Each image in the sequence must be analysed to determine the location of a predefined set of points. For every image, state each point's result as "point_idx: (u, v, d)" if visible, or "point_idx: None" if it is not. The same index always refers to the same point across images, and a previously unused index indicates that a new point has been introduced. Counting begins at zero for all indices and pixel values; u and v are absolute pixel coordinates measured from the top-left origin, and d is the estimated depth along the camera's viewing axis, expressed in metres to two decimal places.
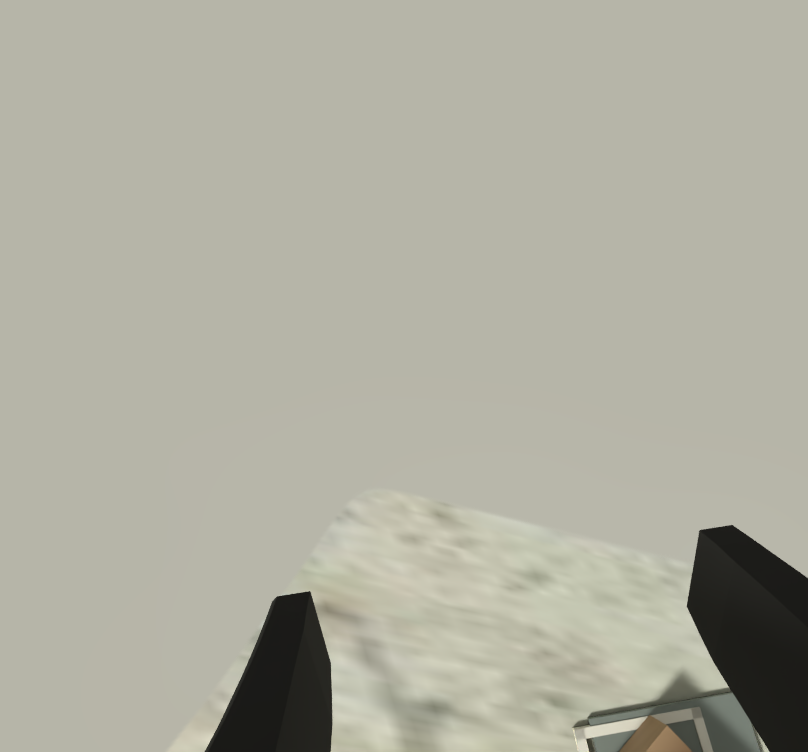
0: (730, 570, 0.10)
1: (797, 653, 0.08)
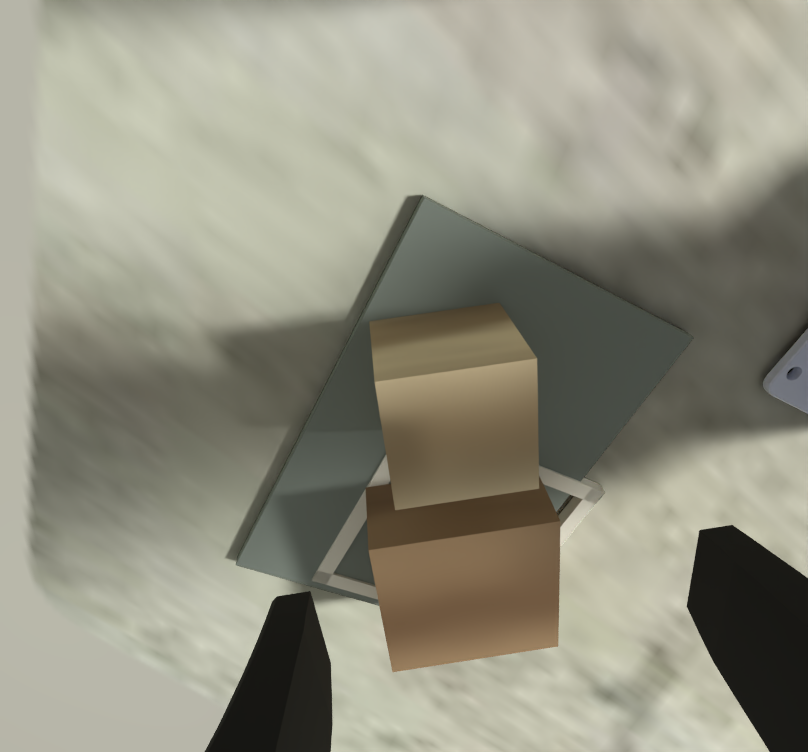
0: (730, 570, 0.10)
1: (797, 653, 0.08)
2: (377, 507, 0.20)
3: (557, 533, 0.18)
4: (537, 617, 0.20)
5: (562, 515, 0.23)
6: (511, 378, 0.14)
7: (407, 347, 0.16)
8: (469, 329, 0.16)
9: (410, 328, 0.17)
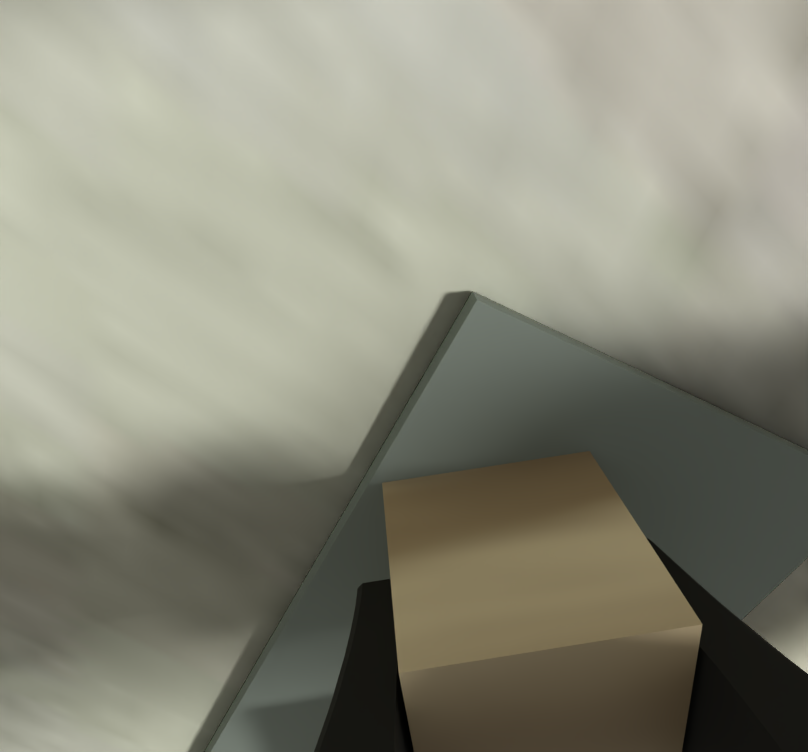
0: None
1: None
2: None
3: None
4: None
5: None
6: (651, 654, 0.08)
7: (451, 563, 0.09)
8: (553, 521, 0.10)
9: (450, 508, 0.10)
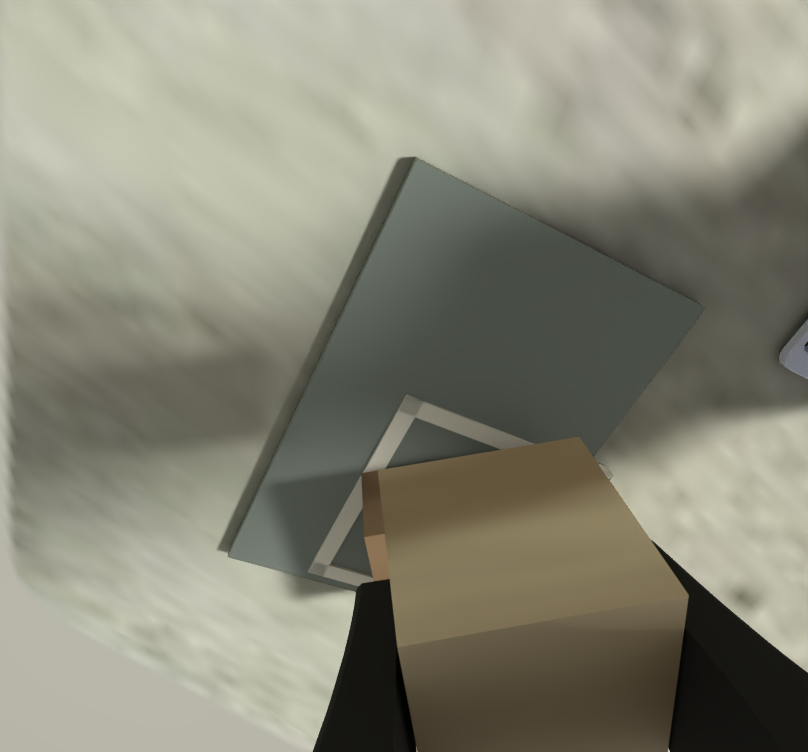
0: None
1: (693, 670, 0.08)
2: (373, 493, 0.19)
3: None
4: None
5: None
6: (639, 625, 0.08)
7: (447, 543, 0.09)
8: (545, 502, 0.10)
9: (445, 493, 0.10)
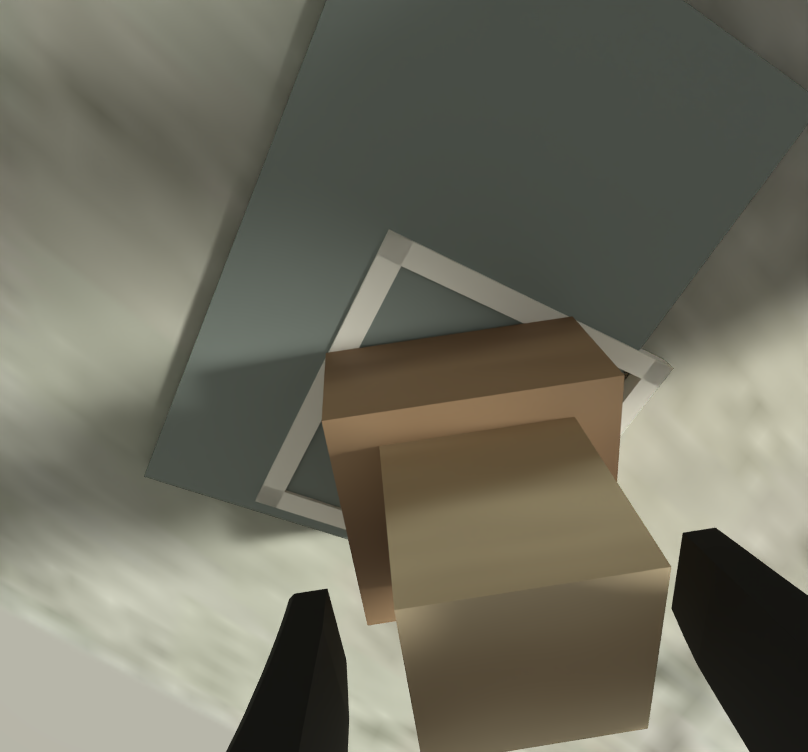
0: (712, 573, 0.10)
1: (776, 656, 0.08)
2: (340, 372, 0.13)
3: (619, 396, 0.12)
4: None
5: None
6: (624, 594, 0.09)
7: (443, 516, 0.10)
8: (538, 479, 0.10)
9: (443, 468, 0.11)
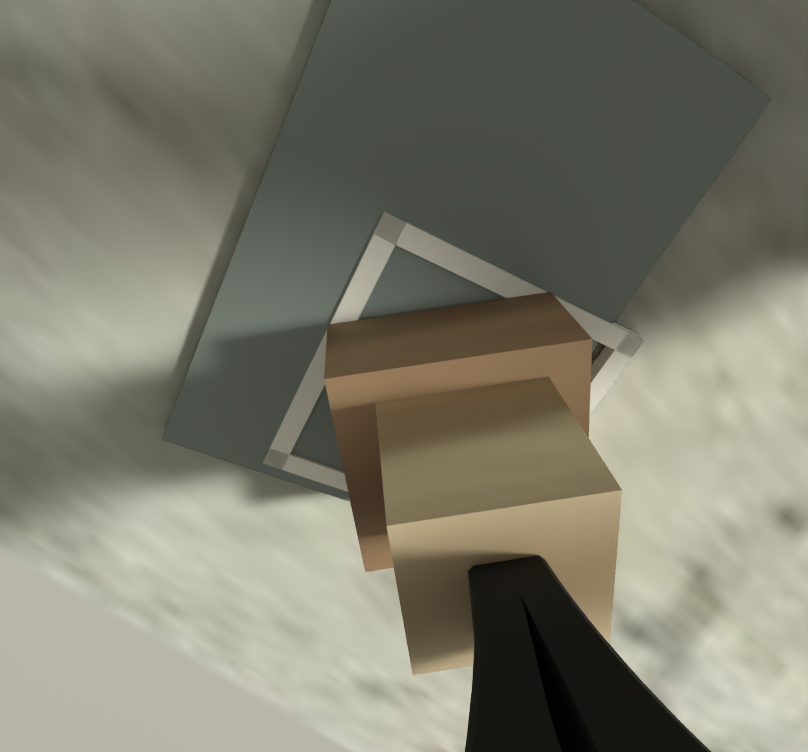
0: None
1: (557, 692, 0.08)
2: (341, 340, 0.15)
3: (588, 358, 0.13)
4: None
5: None
6: (583, 514, 0.10)
7: (430, 455, 0.11)
8: (513, 426, 0.12)
9: (431, 419, 0.12)
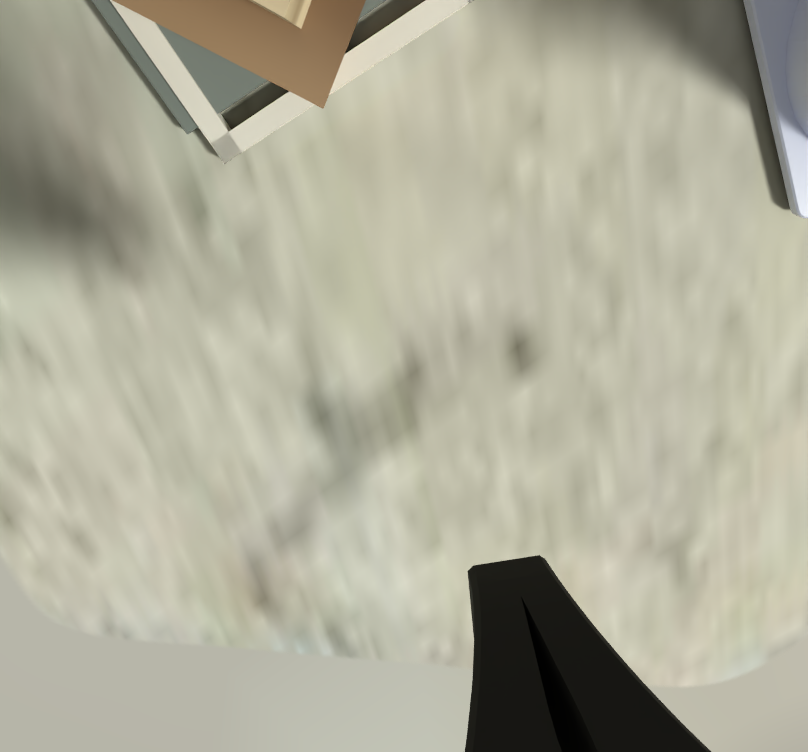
0: None
1: (557, 692, 0.08)
2: None
3: None
4: (321, 9, 0.12)
5: None
6: None
7: None
8: None
9: None
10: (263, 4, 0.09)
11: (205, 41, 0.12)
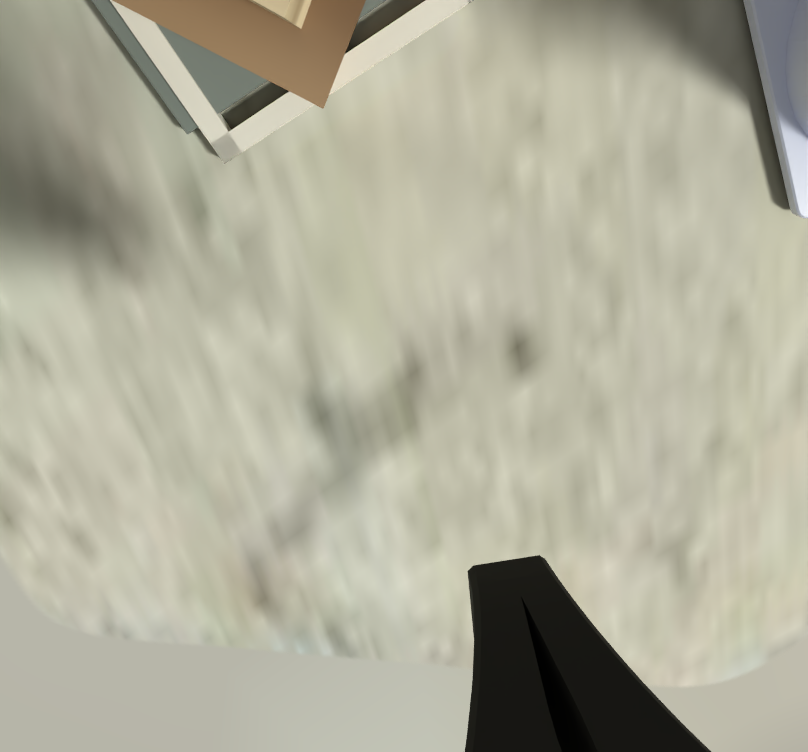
0: None
1: (557, 692, 0.08)
2: None
3: None
4: (321, 9, 0.12)
5: None
6: None
7: None
8: None
9: None
10: (263, 4, 0.09)
11: (205, 41, 0.12)
